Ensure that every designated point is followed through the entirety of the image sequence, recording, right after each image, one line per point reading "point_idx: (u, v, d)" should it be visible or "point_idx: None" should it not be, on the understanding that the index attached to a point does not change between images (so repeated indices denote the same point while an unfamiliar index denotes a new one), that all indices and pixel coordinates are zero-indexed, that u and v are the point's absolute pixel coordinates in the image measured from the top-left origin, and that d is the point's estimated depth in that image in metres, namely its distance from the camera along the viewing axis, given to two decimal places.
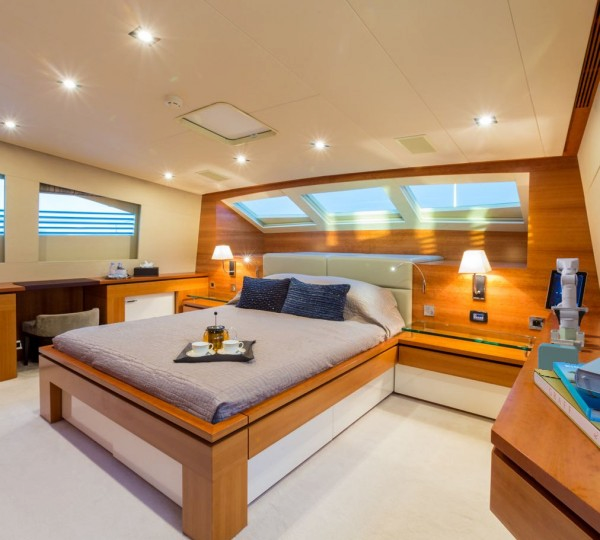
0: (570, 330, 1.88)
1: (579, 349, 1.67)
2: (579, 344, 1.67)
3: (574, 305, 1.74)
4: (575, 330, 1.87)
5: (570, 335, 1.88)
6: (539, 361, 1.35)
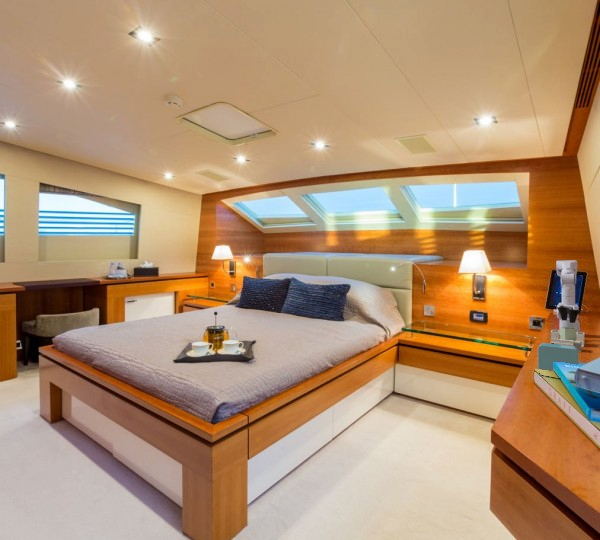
0: (570, 330, 1.88)
1: (579, 349, 1.67)
2: (579, 344, 1.67)
3: (566, 303, 1.88)
4: (575, 330, 1.87)
5: (570, 335, 1.88)
6: (539, 361, 1.35)
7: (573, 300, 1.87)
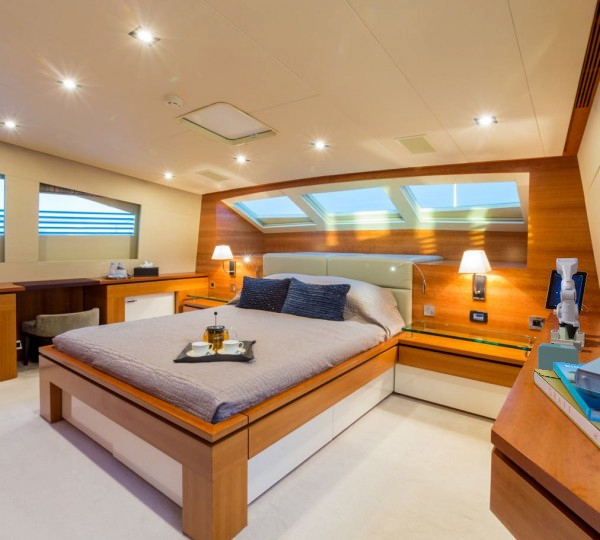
0: None
1: (579, 349, 1.67)
2: (579, 344, 1.67)
3: (566, 319, 1.88)
4: None
5: None
6: (539, 361, 1.35)
7: (573, 316, 1.87)
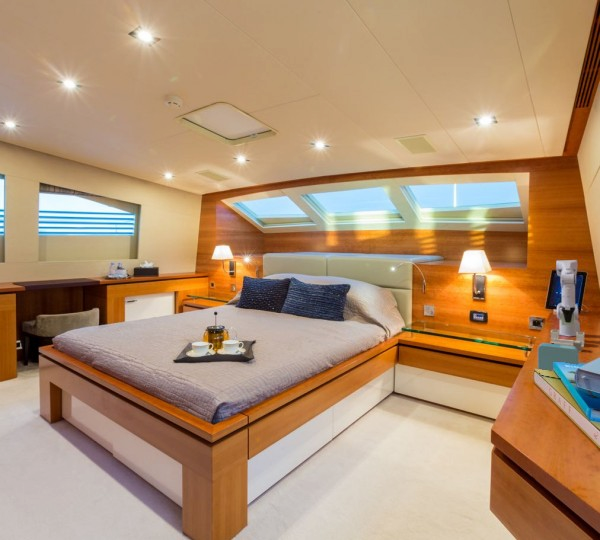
0: None
1: (579, 349, 1.67)
2: (579, 344, 1.67)
3: (563, 303, 1.89)
4: (573, 315, 1.86)
5: None
6: (539, 361, 1.35)
7: (570, 300, 1.86)
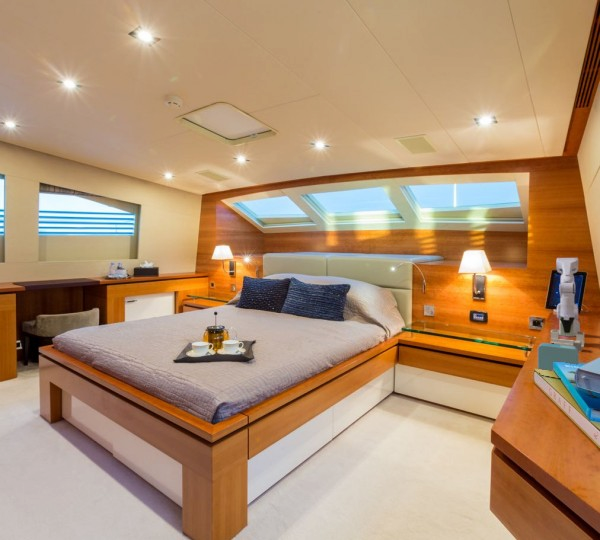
0: None
1: (579, 349, 1.67)
2: (579, 344, 1.67)
3: (562, 312, 1.82)
4: (572, 325, 1.80)
5: None
6: (539, 361, 1.35)
7: (569, 310, 1.80)
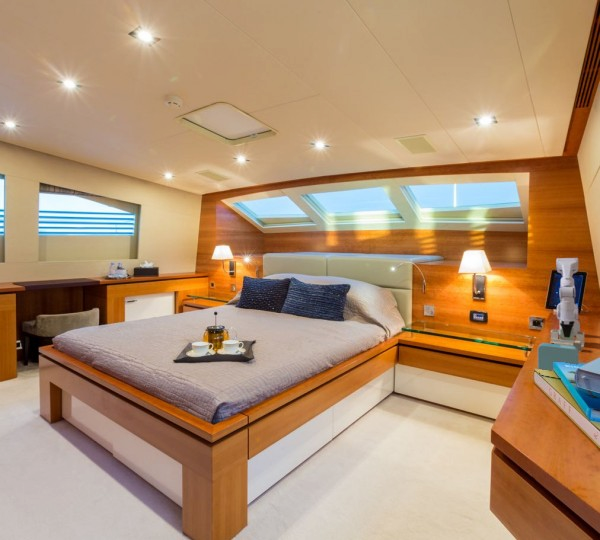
0: None
1: (579, 349, 1.67)
2: (579, 344, 1.67)
3: (562, 317, 1.83)
4: (572, 331, 1.80)
5: None
6: (539, 361, 1.35)
7: (569, 314, 1.80)
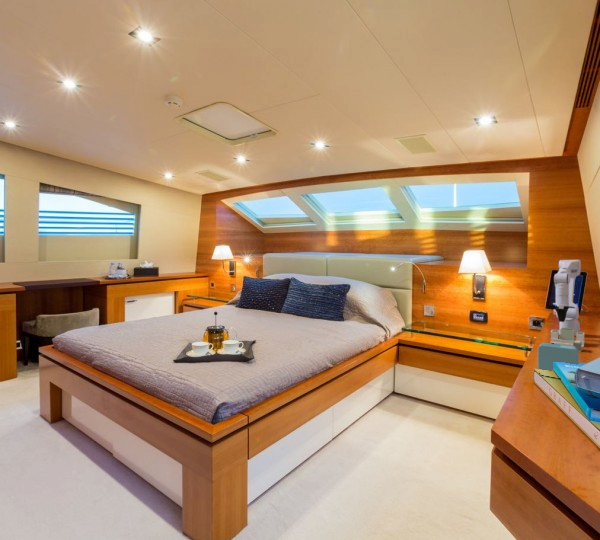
0: (566, 331, 1.81)
1: (579, 349, 1.67)
2: (579, 344, 1.67)
3: (557, 302, 1.90)
4: (572, 331, 1.80)
5: (566, 336, 1.82)
6: (539, 361, 1.35)
7: (564, 299, 1.88)
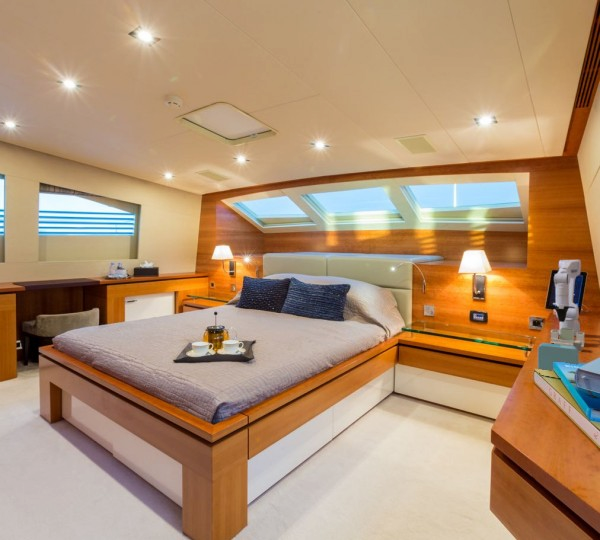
0: (566, 331, 1.81)
1: (579, 349, 1.67)
2: (579, 344, 1.67)
3: (557, 302, 1.90)
4: (572, 331, 1.80)
5: (566, 336, 1.82)
6: (539, 361, 1.35)
7: (564, 299, 1.88)
